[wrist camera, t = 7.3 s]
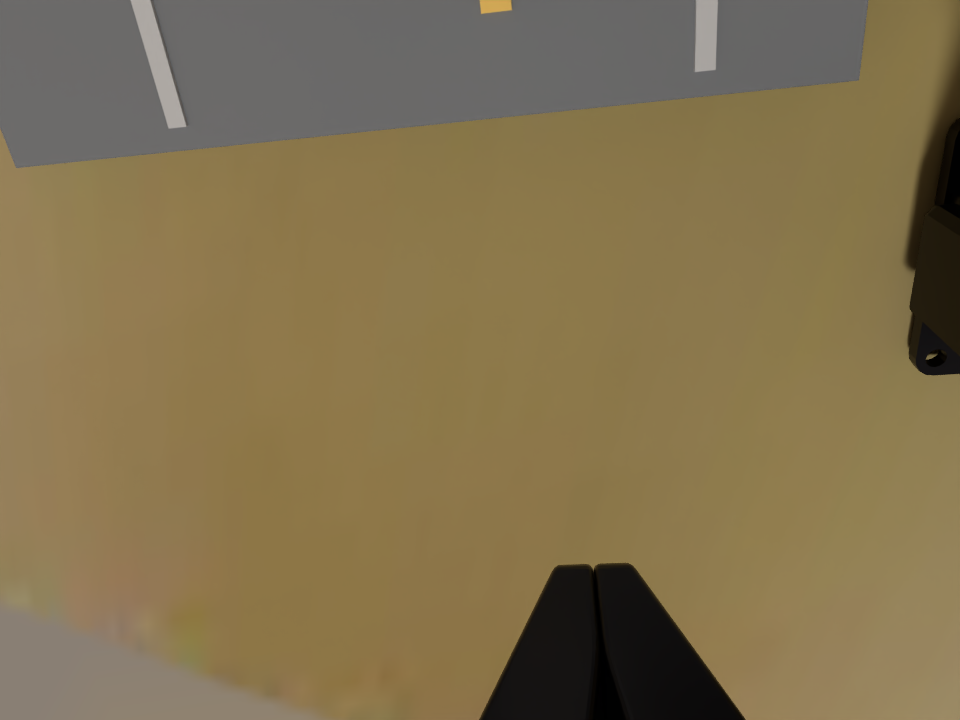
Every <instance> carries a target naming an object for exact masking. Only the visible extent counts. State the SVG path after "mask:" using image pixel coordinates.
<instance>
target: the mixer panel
mask: <svg viewBox="0 0 960 720" xmlns="http://www.w3.org/2000/svg"><path fill="white" fill-rule="evenodd" d="M867 7H868V0H0V128H1V131H2V133H3V136H4V138H5V141H6V143H7V146H8V148H9V151H10V153H11V156H12V159H13V161H14V164H15V166H16V168H20V167H30V166H39V165H49V164H59V163H68V162H78V161H88V160H97V159H107V158H116V157H126V156H136V155H145V154H155V153H165V152H174V151H184V150H193V149H203V148H213V147H222V146H232V145H241V144H251V143H261V142H270V141H280V140H290V139H299V138H309V137H318V136H328V135H338V134H347V133H357V132H367V131H376V130H386V129H395V128H405V127H415V126H424V125H434V124H443V123H453V122H463V121H472V120H482V119H492V118H501V117H511V116H520V115H530V114H540V113H549V112H559V111H569V110H578V109H588V108H597V107H607V106H617V105H626V104H636V103H646V102H655V101H665V100H674V99H684V98H694V97H703V96H713V95H722V94H732V93H742V92H751V91H761V90H771V89H780V88H790V87H799V86H809V85H819V84H828V83H838V82H848V81H857V80H859V75H860V67H861V58H862V50H863V41H864V32H865V24H866V15H867Z"/></svg>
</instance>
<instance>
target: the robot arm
mask: <svg viewBox="0 0 960 720" xmlns="http://www.w3.org/2000/svg"><path fill="white" fill-rule="evenodd" d="M910 310H911V311H912V312H913V313H914V314H915V320H914V325H913V331H912V337H911V342H910V348H909V359H910V361H911V362H912V364H913V365H914V366H915V367H916V368H917V369H918V370H919V371H920V372H922V373H924V374H925V375H946V374H960V118H959V119H957V120H956V121H955V122H954V123H953V125H952V126H951V127H950V129H949V131H948V134H947V137H946V142H945V148H944V153H943V159H942V165H941V171H940V176H939V182H938V188H937V193H936V199H935V205H934V206H933V208H932V209H931V210H930V211H929V212H928V213H927V214H926V215H925V218H924V224H923V229H922V235H921V241H920V247H919V253H918V259H917V265H916V271H915V277H914V283H913V288H912V294H911V300H910ZM937 349H940V351H939V353H938V355H937V356H935V357H934V358H932V359H929V360H926V357H927V355H928V354H929V353H930V352H932V351H934V350H937ZM479 720H746V719H745V718H744V717H743V715H742V714H741V712H740V711H739V710H738V708H737V707H736V706H735V704H734V703H733V701H732V700H731V699H730V697H729V696H728V695H727V693H726V692H725V691H724V689H723V688H722V686H721V685H720V684H719V682H718V681H717V680H716V678H715V677H714V675H713V674H712V673H711V671H710V670H709V669H708V667H707V666H706V664H705V663H704V662H703V660H702V659H701V658H700V656H699V655H698V654H697V652H696V651H695V649H694V648H693V647H692V645H691V644H690V643H689V641H688V640H687V638H686V637H685V636H684V634H683V633H682V632H681V630H680V629H679V627H678V626H677V625H676V623H675V622H674V621H673V619H672V618H671V617H670V615H669V614H668V612H667V611H666V610H665V608H664V607H663V606H662V604H661V603H660V601H659V600H658V599H657V597H656V596H655V595H654V593H653V592H652V590H651V589H650V588H649V586H648V585H647V584H646V582H645V581H644V580H643V578H642V577H641V575H640V574H639V573H638V571H637V570H636V569H635V568H634V566H632V565H631V564H629V563H607V564H598V565H596V566H595V568H594V573H593V569H592V567H591V566H590V565H588V564H576V565H558V566H557V567H555V568H554V569H553V571H552V573H551V575H550V577H549V579H548V581H547V583H546V585H545V587H544V589H543V591H542V593H541V595H540V597H539V599H538V601H537V603H536V605H535V607H534V609H533V611H532V613H531V615H530V617H529V619H528V621H527V623H526V626H525V628H524V630H523V632H522V634H521V636H520V638H519V640H518V642H517V644H516V646H515V648H514V650H513V652H512V654H511V656H510V658H509V660H508V662H507V664H506V666H505V668H504V670H503V672H502V674H501V676H500V678H499V680H498V682H497V685H496V687H495V689H494V691H493V693H492V695H491V697H490V699H489V701H488V703H487V705H486V707H485V709H484V711H483V713H482V715H481V717H480V719H479Z"/></svg>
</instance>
